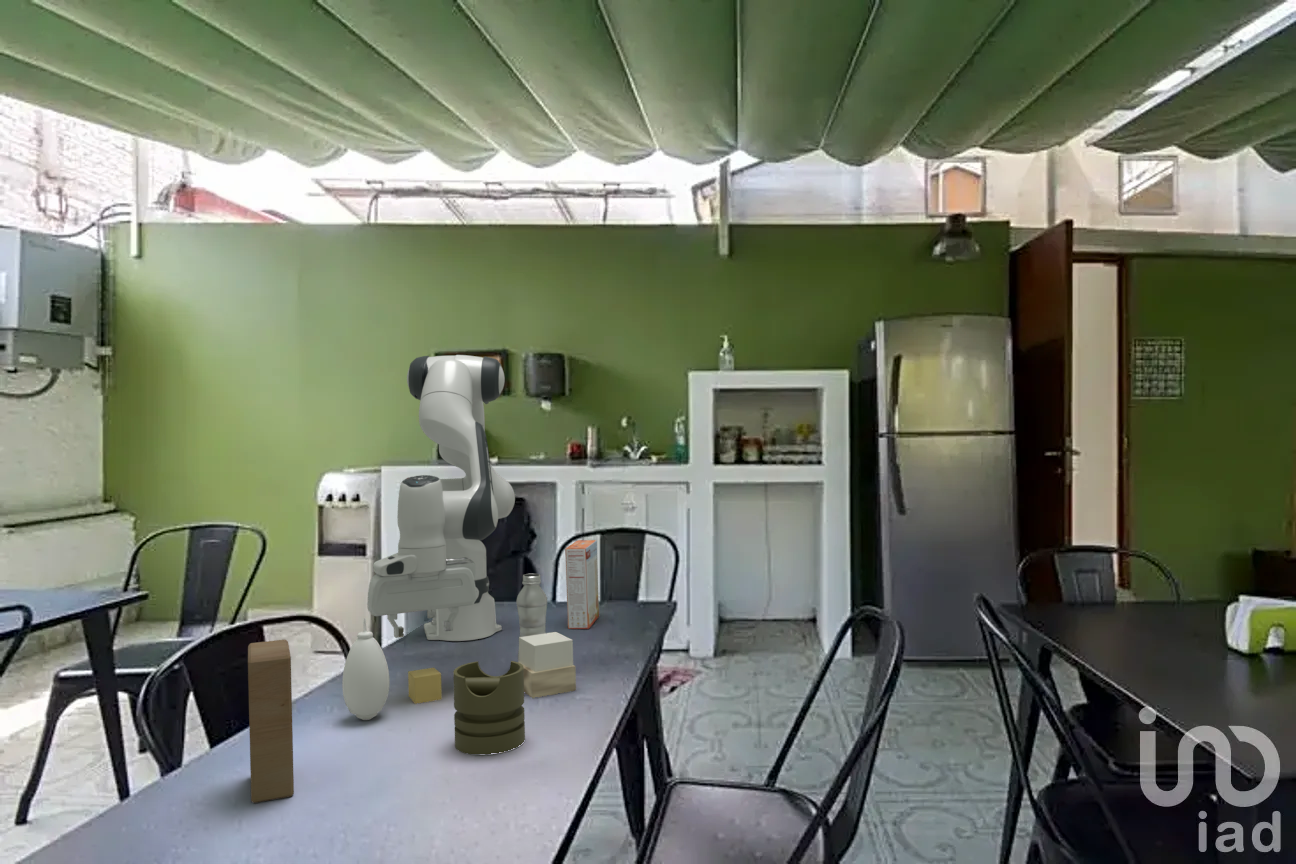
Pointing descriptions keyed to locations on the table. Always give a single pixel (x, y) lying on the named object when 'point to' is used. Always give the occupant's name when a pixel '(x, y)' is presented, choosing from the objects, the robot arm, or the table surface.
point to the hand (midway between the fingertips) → (423, 633)
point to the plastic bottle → (531, 607)
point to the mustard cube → (424, 685)
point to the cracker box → (582, 584)
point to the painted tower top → (545, 651)
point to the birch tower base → (549, 681)
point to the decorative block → (270, 720)
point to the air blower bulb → (365, 677)
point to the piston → (488, 709)
